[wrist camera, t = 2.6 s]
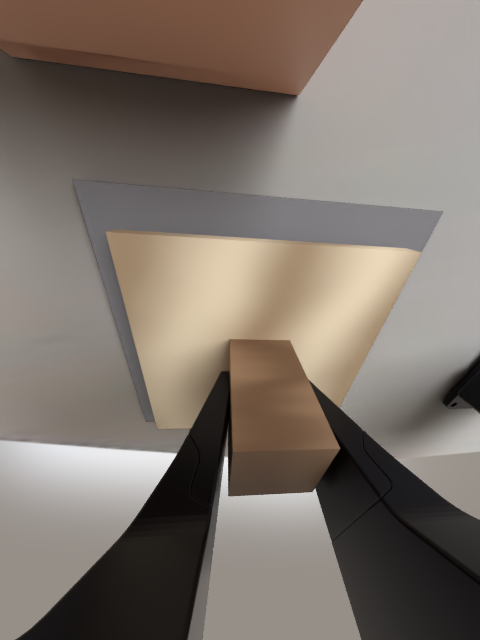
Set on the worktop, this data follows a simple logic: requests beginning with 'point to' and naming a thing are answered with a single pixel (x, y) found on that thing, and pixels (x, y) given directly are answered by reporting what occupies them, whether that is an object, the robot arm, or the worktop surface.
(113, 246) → the lid
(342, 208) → the mat
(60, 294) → the worktop surface
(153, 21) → the open box
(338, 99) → the worktop surface
